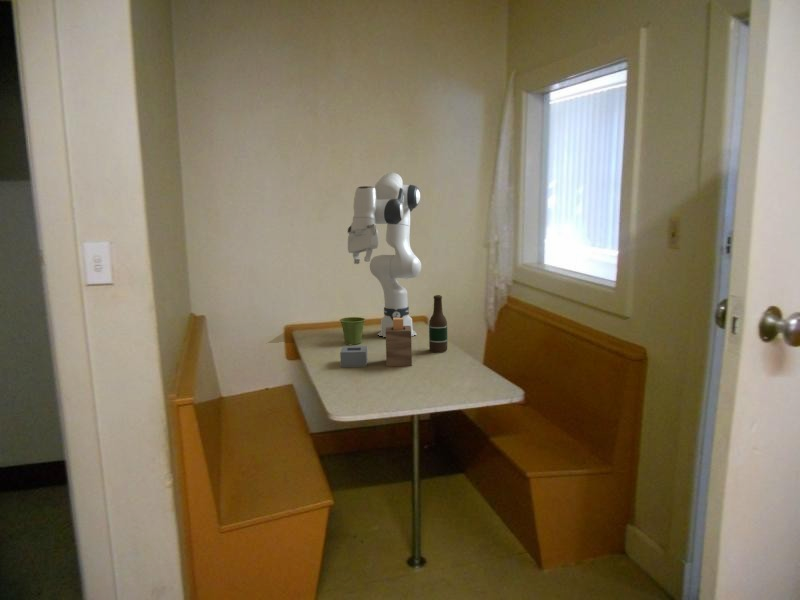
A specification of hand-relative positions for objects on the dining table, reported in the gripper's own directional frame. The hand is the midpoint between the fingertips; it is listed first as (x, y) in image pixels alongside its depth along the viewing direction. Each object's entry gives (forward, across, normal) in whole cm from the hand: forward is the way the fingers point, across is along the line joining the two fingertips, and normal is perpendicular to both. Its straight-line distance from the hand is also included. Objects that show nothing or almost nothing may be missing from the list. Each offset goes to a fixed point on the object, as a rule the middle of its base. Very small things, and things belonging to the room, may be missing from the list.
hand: (361, 262), depth 230 cm
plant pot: (+31, +44, -19) cm, 57 cm away
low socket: (+39, +13, -5) cm, 41 cm away
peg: (+28, +2, -19) cm, 34 cm away
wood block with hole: (+38, +4, -21) cm, 43 cm away
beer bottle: (+33, +11, -44) cm, 56 cm away
